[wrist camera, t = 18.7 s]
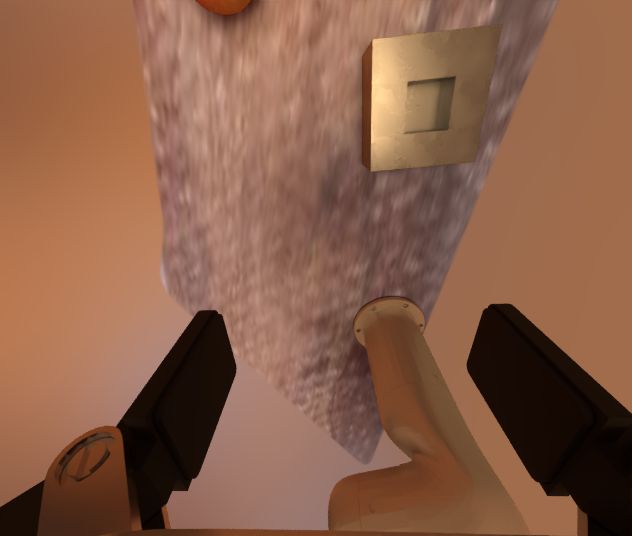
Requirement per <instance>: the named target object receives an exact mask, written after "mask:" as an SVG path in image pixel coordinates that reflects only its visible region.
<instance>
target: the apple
mask: <svg viewBox="0 0 632 536" xmlns="http://www.w3.org/2000/svg"><path fill="white" fill-rule="evenodd" d="M196 1H197V2H198V3H199V4H200V5H201V6H203V7H204V8H206V9H207V10H209V11H211V12H214V13H217V14H221V15H231V14H235V13H237V12H239V11H241V10H242V9H244V8H245V7H246V6H247V5H248V3H249V2H250V1H251V0H196Z"/></svg>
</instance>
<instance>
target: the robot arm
mask: <svg viewBox="0 0 632 536" xmlns="http://www.w3.org/2000/svg"><path fill="white" fill-rule="evenodd" d="M424 326H425V319H424V315H423V313H422V311H421V310H420V308H419V307H418V306H417V305H416V304H415V303H414V302H412V301H410V300H408V299H405V298H401V297H385V298H380V299H377V300H374V301H372V302H370V303H368V304H367V305H366V306H364V307H363V308H362V309H361V310H360V311H359V312H358V314H357V315H356V318H355V320H354V333H355V337H356V338H357V340H358V341H359V343H360V344H361V345H363V346H364V347H366V350H367V355H368V360H369V365H370V370H371V375H372V380H373V384H374V389H375V394H376V399H377V404H378V409H379V414H380V418H381V422H382V425H383V427H384V430H385V431H386V433H387V435H388V436H389V438H390V439H391V440H392V441H393V443H394V444H395V445H396V446H397V447H398V448H399V449H401V450H402V451H403V452H404V453H405V454H406V455H407V456H408V457H409V458H411V459H412V461H410V462H408V463H404V464H400V465H399V466H394V467H389V468H384V469H379V470H373V471H368V472H363V473H358V474H354V475H350V476H347V477H345V478H343V479H341V480H340V481H339V482H338V483H337V484H336V485H335V486H334V488H333V490H332V492H331V495H330V500H329V506H328V528H329V530H267V529H266V530H265V529H171V527H170V522H169V518H168V512H167V508H166V504H167V502H168V500H169V497H170V495H171V493H172V491H188V489H189V486H190V483H191V481H192V479H195V478H196V477H197V476H198V474H199V472H200V470H201V467H202V464H203V462H204V459H205V456H206V454H207V451H208V448H209V446H210V443H211V440H212V437H213V435H214V432H215V429H216V426H217V424H218V421H219V418H220V416H221V413H222V410H223V408H224V405H225V402H226V399H227V397H228V394H229V391H230V389H231V386H232V383H233V380H234V378H235V375H236V363H235V359H234V356H233V352H232V348H231V345H230V341H229V337H228V334H227V330H226V327H225V323H224V319H223V316H222V315H221V314H218V312H217V311H216V310H202V311H198V312H197V314H196V315H195V316H194V318H193V319H192V321H191V322H190V324H189V325H188V326H187V328H186V329H185V330H184V332H183V333H182V335H181V336H180V337H179V339H178V340H177V342H176V343H175V345H174V346H173V347H172V349H171V350H170V352H169V353H168V354H167V356H166V357H165V358H164V360H163V361H162V363H161V364H160V366H159V367H158V368H157V370H156V371H155V373H154V374H153V375H152V377H151V378H150V380H149V381H148V382H147V384H146V385H145V387H144V388H143V389H142V391H141V392H140V394H139V395H138V396H137V398H136V399H135V401H134V402H133V403H132V405H131V406H130V408H129V409H128V410H127V412H126V413H125V415H124V416H123V418H122V419H121V420H120V422H119V423H118V425H117V426H116V427H114V426H103V427H98V428H95V429H93V430H91V431H88V432H86V433H85V434H83V435H82V436H80V437H78V438H77V439H75V440H74V441H73V442H71V443H70V444H69V445H68V446H67V447H65V449H63V450H62V452H61V453H60V454H59V455H58V456H57V457H56V458H55V460H54V461H53V463H52V464H51V466H50V467H49V469H48V472H47V475H46V478H45V480H43V481H42V482H40V483H39V484H37V485H35V486H34V487H32V488H30V489H29V490H27V491H26V492H24V493H22V494H21V495H19V496H18V497H16V498H14V499H13V500H11V501H10V502H8V503H6V504H5V505H3V506H1V507H0V536H544V535H531V533H530V531H529V529H528V527H527V525H526V523H525V521H524V518H523V517H522V515H521V513H520V511H519V510H518V508H517V506H516V505H515V503H514V501H513V500H512V498H511V496H510V495H509V494H508V492H507V490H506V489H505V487H504V486H503V484H502V483H501V481H500V480H499V478H498V476H497V475H496V474H495V472H494V470H493V469H492V467H491V466H490V464H489V463H488V461H487V459H486V458H485V456H484V455H483V453H482V451H481V450H480V448H479V447H478V445H477V443H476V441H475V439H474V438H473V436H472V434H471V432H470V430H469V429H468V427H467V425H466V423H465V421H464V419H463V417H462V415H461V413H460V411H459V409H458V407H457V405H456V403H455V401H454V399H453V397H452V395H451V393H450V391H449V389H448V387H447V384H446V382H445V380H444V378H443V376H442V374H441V372H440V370H439V368H438V366H437V364H436V362H435V360H434V357H433V356H432V353H431V351H430V349H429V347H428V345H427V343H426V341H425V339H424V337H423V335H422V332H423V330H424ZM467 370H468V372H469V374H470V376H471V378H472V380H473V381H474V383H475V384H476V386H477V388H478V390H479V391H480V393H481V394H482V396H483V397H484V399H485V401H486V403H487V404H488V406H489V408H490V409H491V411H492V413H493V414H494V416H495V418H496V419H497V421H498V423H499V424H500V426H501V428H502V429H503V431H504V433H505V434H506V436H507V438H508V439H509V441H510V443H511V444H512V446H513V448H514V449H515V451H516V453H517V454H518V456H519V458H520V459H521V461H522V463H523V464H524V466H525V468H526V469H527V471H528V473H529V474H530V476H531V477H532V478H533V479H534V480H535V481H536V482H539V483H540V485H541V486H542V488H543V489H544V491H545V492H546V494H547V496H569V495H571V497H572V498H573V500H574V501H575V503H576V504H577V506H578V525H577V527H578V528H577V530H578V531H577V535H578V536H632V414H631V413H630V412H629V411H628V410H627V409H626V408H625V407H624V406H623V405H622V404H620V403H619V402H618V401H617V400H616V399H615V398H614V397H613V396H612V395H611V394H610V393H608V392H607V391H606V390H605V389H604V388H603V387H602V386H601V385H600V384H599V383H597V382H596V381H595V380H594V379H593V378H592V377H591V376H590V375H589V374H588V373H587V372H585V371H584V370H583V369H582V368H581V367H580V366H579V365H578V364H577V363H576V362H575V361H573V360H572V359H571V358H570V357H569V356H568V355H567V354H566V353H565V352H564V351H562V350H561V349H560V348H559V347H558V346H557V345H556V344H555V343H554V342H553V341H551V340H550V339H549V338H548V337H547V336H546V335H545V334H544V333H543V332H542V331H540V330H539V329H538V328H537V327H536V326H535V325H534V324H533V323H532V322H531V321H529V320H528V319H527V318H526V317H525V316H524V315H523V314H522V313H521V312H520V311H519V310H518V309H516V308H515V307H514V306H513V305H511V304H491V305H489V306H488V308H486V309H484V311H483V313H482V316H481V319H480V322H479V326H478V329H477V332H476V335H475V338H474V341H473V345H472V348H471V351H470V354H469V357H468V361H467ZM545 536H546V535H545Z"/></svg>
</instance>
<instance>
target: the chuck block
mask: <svg viewBox="0 0 632 536" xmlns="http://www.w3.org/2000/svg"><path fill="white" fill-rule="evenodd" d="M502 25H503V24H497V25H489V26H481V27H472V28H464V29H456V30H448V31H439V32H431V33H423V34H415V35H406V36H398V37H390V38H381V39H373V40H372V41H371V43H370V45H369V46H368V48H367V49H366V51H365V52H364V54H363V56H362V164H363V165H364V166H365V167H367V168H368V169H369V170H370V171H382V170H393V169H404V168H415V167H426V166H437V165H447V164H458V163H469V162H475V159H476V154H477V149H478V144H479V139H480V134H481V129H482V124H483V119H484V114H485V109H486V104H487V99H488V94H489V90H490V85H491V80H492V75H493V70H494V65H495V60H496V55H497V50H498V45H499V40H500V35H501V30H502Z"/></svg>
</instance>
